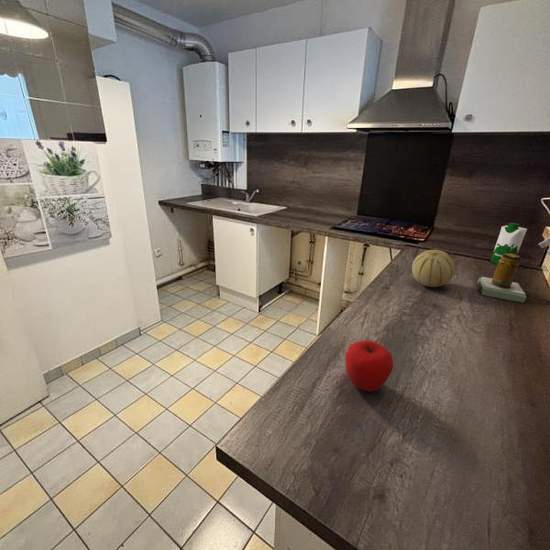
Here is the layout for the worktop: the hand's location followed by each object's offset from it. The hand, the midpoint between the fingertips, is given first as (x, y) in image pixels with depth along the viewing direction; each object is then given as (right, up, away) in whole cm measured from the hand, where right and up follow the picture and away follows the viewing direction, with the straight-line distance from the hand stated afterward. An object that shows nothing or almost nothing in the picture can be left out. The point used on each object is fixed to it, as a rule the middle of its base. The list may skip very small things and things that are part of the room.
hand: (544, 249), depth 103 cm
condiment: (-8, -13, +8) cm, 18 cm away
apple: (-75, -34, -37) cm, 91 cm away
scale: (-8, -16, +10) cm, 20 cm away
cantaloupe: (-34, -13, +14) cm, 39 cm away
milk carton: (+18, -3, +42) cm, 45 cm away
